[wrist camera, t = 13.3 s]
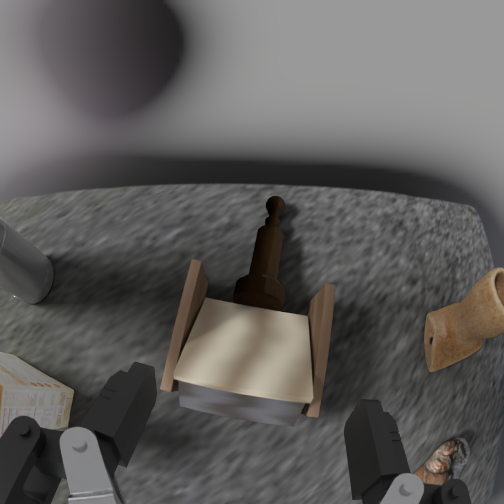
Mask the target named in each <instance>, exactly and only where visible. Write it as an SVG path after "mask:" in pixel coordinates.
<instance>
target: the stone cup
mask: <svg viewBox="0 0 504 504" xmlns="http://www.w3.org/2000/svg"><path fill="white" fill-rule="evenodd" d="M502 333H504V268H495V269H492V270H491V271H490V272H488V273H487V274H486V275H485V276H483V277H482V278H481V279H479V280H478V281H477V283H476V284H475V285H474V286H473V288H472V289H471V290H470V292H469V293H468V294H467V296H466V297H465V298H464V299H463V301H462V302H458V303H454V304H452V305H449V306H446V307H444V308H441V309H439V310H436V311H433V312H430V313H428V314H427V316H426V324H425V334H424V344H425V357H426V364H427V368H428V370H429V371H430V372H434V371H437V370H440V369H443V368H445V367H448V366H450V365H452V364H454V363H456V362H458V361H461V360H463V359H465V358H467V357H468V356H470V355H472V354H473V353H475V352H476V351H477V350H479V349H480V348H481V346H482V344H483V339H485V338H492V337H496V336H498V335H500V334H502Z"/></svg>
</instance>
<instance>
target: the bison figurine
mask: <svg viewBox="0 0 504 504" xmlns="http://www.w3.org/2000/svg"><path fill="white" fill-rule="evenodd" d="M469 457H470V448H469V445H468V443H467V441H466V440H465V439H464V438H460V437H459V438H455V439H453V440H452V441H446V442H445V443H443V444H442V445H440V446H439V448H438V449H437V450H435V452H434V453H433V455H432V456H431V457H430V458H429V459H428V460H427V461H426V462H425V464H423V465H422V466H421V467H420V468H419V469H418V470H417V471H416V472H415V473H414V475H416V476H418V477H419V478H420V479H421V481H422V482H423V483H426V484H435V485H443V484H444V483H445V482H446V481H448V480H450V479H458V478H459V476H460V473H461V471H462V469H463V467H464V465H465V464H466V463H467V462H468V461H469Z"/></svg>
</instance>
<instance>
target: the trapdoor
mask: <svg viewBox="0 0 504 504" xmlns="http://www.w3.org/2000/svg"><path fill="white" fill-rule="evenodd" d="M173 375H174V379H176V380H178V382H179V402H180V406H181V407H185V408H189V409H193V410H197V411H202V412H206V413H210V414H215V415H220V416H225V417H230V418H236V419H241V420H247V421H254V422H260V423H267V424H275V425H284V426H294V424H295V423H296V421H297V419H298V417H299V415H300V413H301V411H302V409H303V407H304V405H305V403H311V401H312V399H313V383H312V366H311V351H310V338H309V325H308V316H304V315H298V314H292V313H286V312H280V311H274V310H268V309H262V308H257V307H251V306H246V305H241V304H235V303H230V302H225V301H220V300H215V299H210V298H205V300H204V303H203V305H202V307H201V310H200V312H199V314H198V316H197V319H196V321H195V323H194V326H193V328H192V330H191V333H190V335H189V337H188V340H187V342H186V344H185V347H184V349H183V351H182V354H181V356H180V358H179V361H178V363H177V365H176V368H175V370H174V373H173Z"/></svg>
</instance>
